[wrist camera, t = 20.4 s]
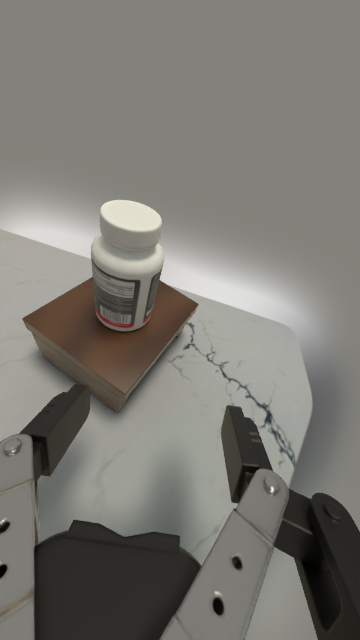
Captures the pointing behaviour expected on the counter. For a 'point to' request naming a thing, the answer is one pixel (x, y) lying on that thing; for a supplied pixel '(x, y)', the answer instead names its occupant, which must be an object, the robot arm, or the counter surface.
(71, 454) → the counter surface
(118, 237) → the pill bottle
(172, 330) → the stand
